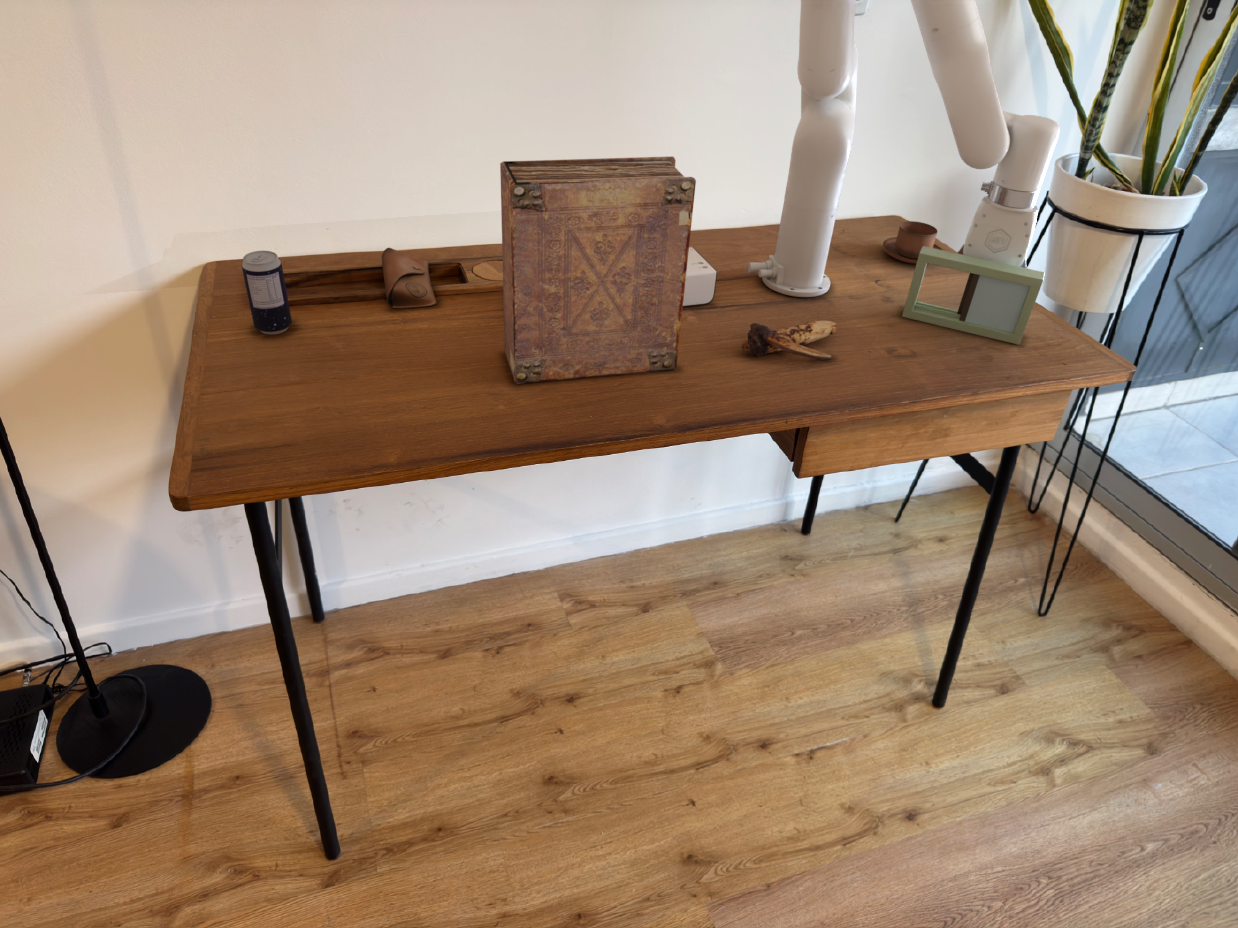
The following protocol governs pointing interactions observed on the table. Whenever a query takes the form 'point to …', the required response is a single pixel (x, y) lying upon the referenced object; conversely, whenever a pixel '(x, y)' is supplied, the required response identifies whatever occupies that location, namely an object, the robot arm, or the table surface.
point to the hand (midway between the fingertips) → (979, 295)
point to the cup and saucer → (911, 241)
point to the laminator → (699, 280)
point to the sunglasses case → (406, 280)
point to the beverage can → (266, 292)
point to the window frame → (979, 296)
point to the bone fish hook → (788, 339)
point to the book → (593, 265)
